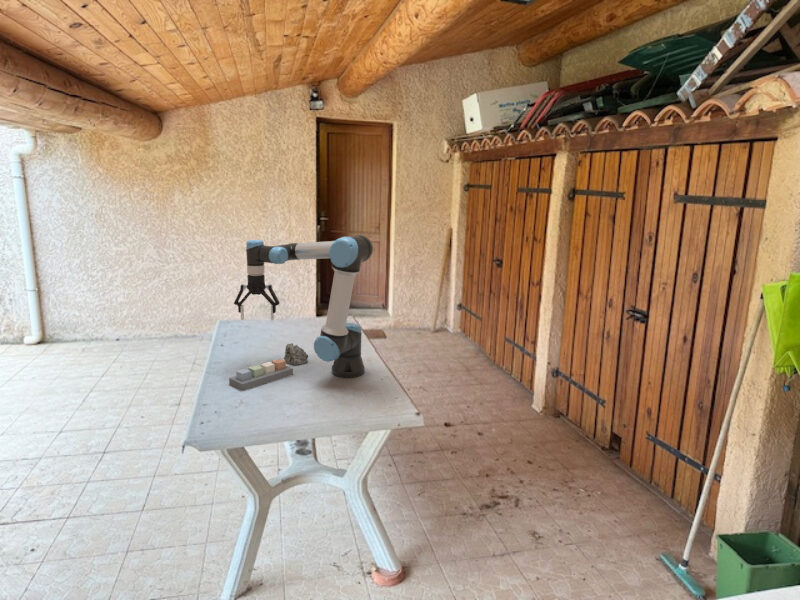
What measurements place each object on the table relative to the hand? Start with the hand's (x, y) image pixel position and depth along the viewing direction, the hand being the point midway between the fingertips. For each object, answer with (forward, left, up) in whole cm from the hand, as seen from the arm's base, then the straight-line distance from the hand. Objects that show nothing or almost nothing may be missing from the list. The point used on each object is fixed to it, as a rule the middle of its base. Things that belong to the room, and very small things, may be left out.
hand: (257, 319), depth 237 cm
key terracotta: (-16, +1, -20) cm, 26 cm away
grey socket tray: (-16, +10, -22) cm, 29 cm away
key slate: (-16, +19, -20) cm, 32 cm away
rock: (-8, -15, -23) cm, 29 cm away
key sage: (-16, +13, -20) cm, 29 cm away
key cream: (-16, +7, -20) cm, 27 cm away
